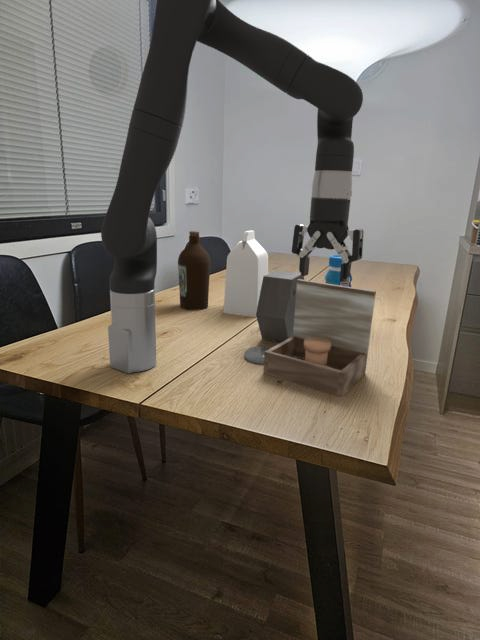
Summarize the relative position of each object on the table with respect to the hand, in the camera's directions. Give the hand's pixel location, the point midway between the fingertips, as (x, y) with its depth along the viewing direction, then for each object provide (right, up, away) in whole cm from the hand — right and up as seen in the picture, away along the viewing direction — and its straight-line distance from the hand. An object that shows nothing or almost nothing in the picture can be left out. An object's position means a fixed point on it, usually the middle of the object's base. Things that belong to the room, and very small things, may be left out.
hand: (323, 278), depth 87 cm
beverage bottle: (+13, -9, +47) cm, 50 cm away
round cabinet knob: (-1, -20, +6) cm, 21 cm away
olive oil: (-33, -4, +56) cm, 65 cm away
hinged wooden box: (-1, -20, +6) cm, 21 cm away
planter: (-6, -13, +29) cm, 33 cm away
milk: (-15, -6, +54) cm, 56 cm away
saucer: (-12, -17, +14) cm, 26 cm away
